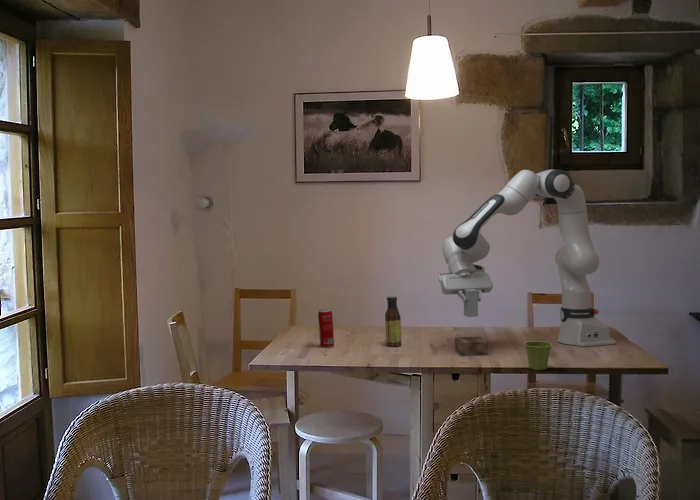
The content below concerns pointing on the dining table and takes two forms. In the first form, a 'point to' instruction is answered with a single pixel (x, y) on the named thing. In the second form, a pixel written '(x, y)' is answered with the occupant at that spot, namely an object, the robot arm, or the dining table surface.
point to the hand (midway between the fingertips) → (472, 301)
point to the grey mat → (472, 355)
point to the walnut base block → (471, 346)
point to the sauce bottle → (392, 323)
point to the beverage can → (326, 328)
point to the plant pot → (538, 354)
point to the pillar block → (471, 303)
